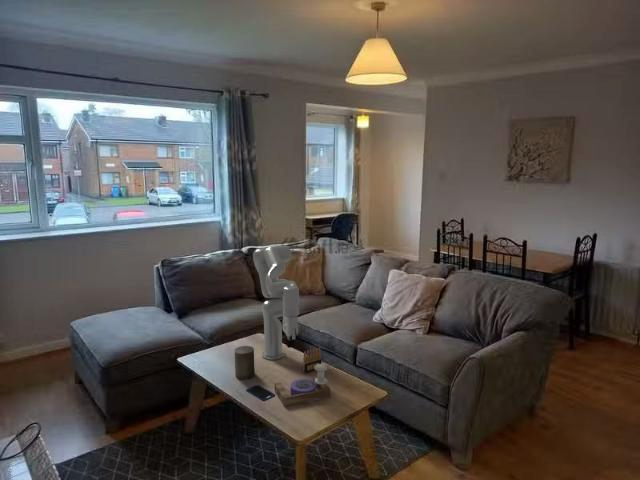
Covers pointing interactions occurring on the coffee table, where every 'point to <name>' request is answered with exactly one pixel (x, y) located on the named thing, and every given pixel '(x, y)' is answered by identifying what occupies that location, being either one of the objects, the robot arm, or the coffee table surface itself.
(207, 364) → the coffee table surface
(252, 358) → the pillar candle
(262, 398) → the cell phone
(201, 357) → the coffee table surface
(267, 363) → the coffee table surface
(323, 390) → the u-shaped wooden bracket
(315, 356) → the ammunition clip
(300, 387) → the tape roll
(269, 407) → the coffee table surface
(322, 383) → the doorknob
